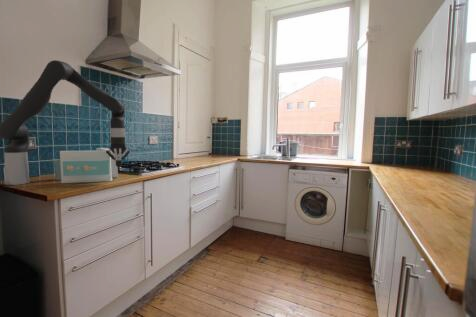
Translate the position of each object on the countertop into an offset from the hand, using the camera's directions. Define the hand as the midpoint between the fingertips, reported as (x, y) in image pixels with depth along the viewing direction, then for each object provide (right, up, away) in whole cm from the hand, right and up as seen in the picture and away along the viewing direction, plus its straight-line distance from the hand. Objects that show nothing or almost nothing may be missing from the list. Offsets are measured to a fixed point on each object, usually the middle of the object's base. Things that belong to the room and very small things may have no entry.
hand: (118, 166), depth 137 cm
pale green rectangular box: (-19, -9, 0) cm, 21 cm away
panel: (-15, -4, -5) cm, 17 cm away
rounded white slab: (-20, -7, +24) cm, 32 cm away
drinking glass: (-37, -8, +9) cm, 39 cm away
